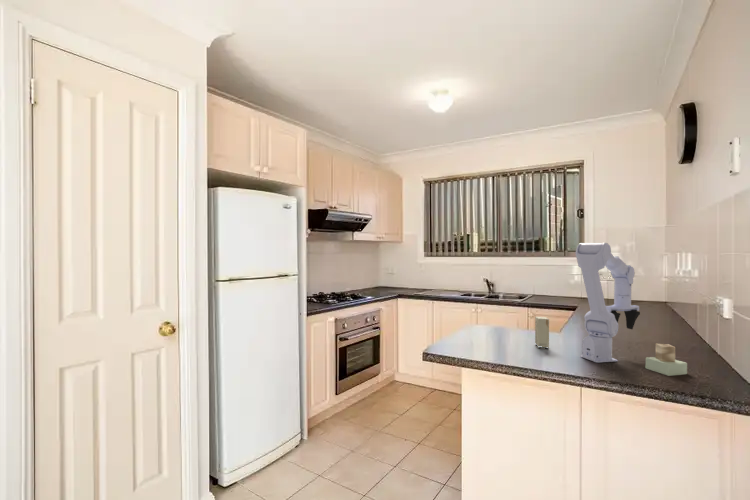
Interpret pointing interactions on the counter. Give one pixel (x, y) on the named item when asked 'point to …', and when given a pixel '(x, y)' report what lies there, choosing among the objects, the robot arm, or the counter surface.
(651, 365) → the sage base block
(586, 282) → the robot arm
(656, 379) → the counter surface
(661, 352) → the birch block
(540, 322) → the skincare box
